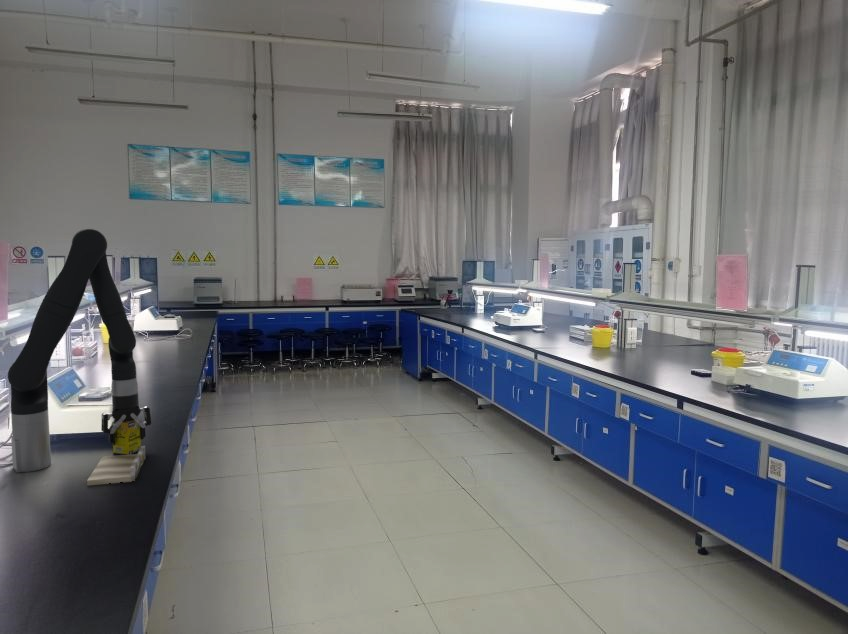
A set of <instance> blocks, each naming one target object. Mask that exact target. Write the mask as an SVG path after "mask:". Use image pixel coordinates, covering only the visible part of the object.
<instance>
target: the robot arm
mask: <svg viewBox="0 0 848 634" xmlns="http://www.w3.org/2000/svg"><path fill="white" fill-rule="evenodd" d="M107 248H108V241H107V238H106V237H105V235H104V234H103V233H102V232H100V231H99V230H97V229H94V228H83V229H80V230H78V231H77V232H76V233H75V234H74V235H73V237H72V240H71V245H70V249H69V251H68V254H67V258H66V260H65V263H64V265H63V267H62V269H61V270H60V272H59V273H58V275H57V276H56V277H55V279H53V280H54V281H53V282H52V283H51V285H50V286H49V288H48V290H47V291H46V293H45V295H44V297H43V299H42V301H41V303H40V305H39V307H38V309H37V312H36V315H35V317H34V320H33V322H32V325H31V328H30V331H29V334H28V338H27V341H26V342H25V345H24V346H23V347H22V349H21V351H20V352H19V355H18V356H17V357H16V359H15V361H14V362H13V363H12V364H11V365H10V367H9V369H8V371H7V381H8V383H9V385H10V417H11V430H12V431H11V432H12V433H11V434H12V435H11V437H10V438H11V440H10V441H11V453H12V454H11V455H12V468H13V469H14V471H15V473H26V472H27V473H29V472H35V471H40V470H43V469H46V468H48V467H50V466H51V465H52V455H51V438H50V437H51V436H50V435H51V434H50V420H49V392H48V391H49V390H48V389H49V388H48V387H49V386H48V366H49V365H50V364H49V363H50V362H51V359H52V356H53V353H54V351H55V350H56V348H57V346H58V345H59V343H60V341H61V340H62V339H63V337H64V336H65V334H66V333H67V331H68V329H69V328H70V326H71V323H72V322H73V320H74V318H75V316H76V314H77V311H78V309H79V307H80V305H81V302H82V300H83V298H84V295H85V293H86V289H87V285H88V283H89V282H90V286H91V288H92V289H91V290H92V294H93V296H94V297H93V298H94V300H95V304H96V308H97V310H98V313H99V316H100V318H101V321H102V323H103V324H104V326H105V328H106V331H107V334H108V342H107V343H108V350H109V351H108V352H109V358H110V361H111V365H110V366H111V391H110V392H111V403H112V411H111V413H110V412H109V413H105V412H103V413H101V432H102V433H104V434H108V443H109V444H111V446H113V445H115V434H114V432H115V431H116V429H117V428H118V427H119V426H120V424H121V423H122V422H126V421H133V420H135V421H136V422H137V423H138V424H139V425H140V435H141V441H142V440H144V439H145V438H146V428H147V427H148V426H150V425H152V418H151V417H152V416H151V410H150V409H151V408H150V407H148V406H146V405H145V406H143V407H140V405H139V404H140V403H139V402H140V401H139V386H138V379H137V367H136V366H137V365H136V362H135V360H134V352H133V351H134V349H135V347H136V345H137V339H136V335H135V333H134V330H133V328H132V326H131V324H130V321H129V320H128V318H127V313H126V310H125V307H124V304H123V301H122V298H121V295H120V292H119V290H118V288H117V285H116V283H115V281H114V278H113V276H112V273H111V270H110V266H109V262H108V257H107V250H108V249H107ZM141 413H142V414H143V415H144V421H142V420H141V418H139V415H140V414H141ZM111 418H112V419H114V420H113V421H112V422H116V421H117V422H116V424H115V423H113V424H112V423H111V424H110V426H109V421H110V420H111Z"/></svg>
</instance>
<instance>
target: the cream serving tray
mask: <svg viewBox="0 0 848 634" xmlns="http://www.w3.org/2000/svg"><path fill="white" fill-rule="evenodd" d="M145 460H146V445H141V448H140V450H139V452H137V453H135V454H131V455H108V456H106V455H105V456H102V458H101V459H100V460H99V462H98V463H97V465H96V466H95V468H94V469H93V471H92V472H91V474H90V475H89V477H88V479H87V480H86V484H87V485H86V486H99V485H100V486H101V485H109V483H111V484H121V483H120V482H123V483H132V481H134V482H136V480H137V478H138V475H139V473H140V471H141V469H142V467H141V466H143V464H144V462H145ZM140 468H141V469H140ZM135 479H136V480H135Z"/></svg>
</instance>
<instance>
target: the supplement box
mask: <svg viewBox="0 0 848 634" xmlns="http://www.w3.org/2000/svg"><path fill="white" fill-rule="evenodd" d="M116 422H117V421H116ZM116 422H113V421H112V423H111V424H113V423H115V424H116ZM114 434H115V445H112V448H113V449H112V451H113V453H112V456H118V455H131V454H134V453H135V454H137V453H138V452H139V450H140V448H141V446H142V440H141V435H140V425H139V424H138V423H137V422H136V421H135V420H133V421H126V422H122V423H121V424H120V426H119V427H118V428H117V429H116V431H115V432H114ZM136 452H137V453H136Z"/></svg>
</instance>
